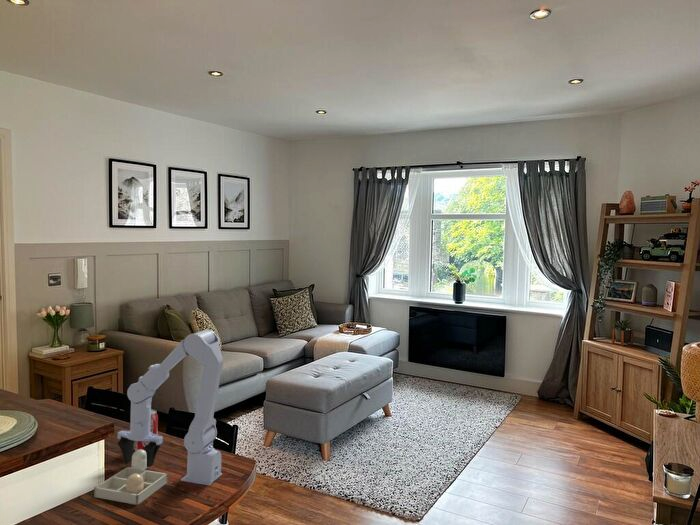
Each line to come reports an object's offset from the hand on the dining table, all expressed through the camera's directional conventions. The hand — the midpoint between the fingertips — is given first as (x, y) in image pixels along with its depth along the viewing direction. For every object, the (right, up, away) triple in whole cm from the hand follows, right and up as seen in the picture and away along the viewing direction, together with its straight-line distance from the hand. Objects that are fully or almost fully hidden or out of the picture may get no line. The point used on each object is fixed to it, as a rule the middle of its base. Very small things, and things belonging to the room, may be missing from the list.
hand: (139, 464), depth 156 cm
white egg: (0, -2, 0) cm, 2 cm away
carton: (+3, -2, -13) cm, 14 cm away
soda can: (-4, -1, +14) cm, 15 cm away
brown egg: (+6, -2, -17) cm, 18 cm away
